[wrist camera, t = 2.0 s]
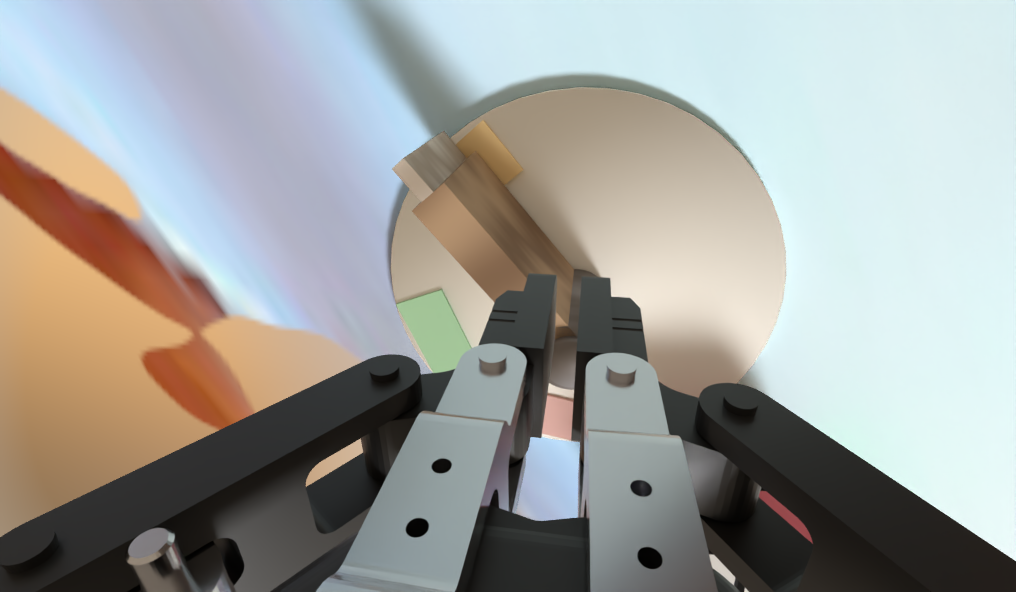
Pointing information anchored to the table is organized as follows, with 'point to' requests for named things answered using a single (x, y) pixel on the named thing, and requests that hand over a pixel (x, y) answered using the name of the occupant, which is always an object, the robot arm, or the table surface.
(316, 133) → the table surface
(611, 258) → the disc
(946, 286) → the table surface
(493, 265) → the peg lever
